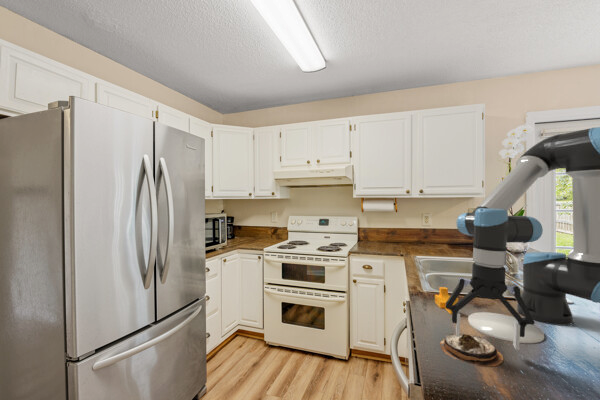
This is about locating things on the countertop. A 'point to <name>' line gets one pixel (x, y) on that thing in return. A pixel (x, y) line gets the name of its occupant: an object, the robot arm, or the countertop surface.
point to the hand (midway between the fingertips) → (485, 340)
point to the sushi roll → (472, 349)
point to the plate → (503, 327)
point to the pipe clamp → (443, 298)
